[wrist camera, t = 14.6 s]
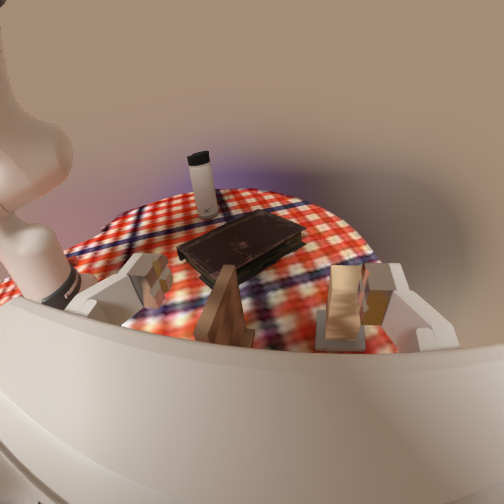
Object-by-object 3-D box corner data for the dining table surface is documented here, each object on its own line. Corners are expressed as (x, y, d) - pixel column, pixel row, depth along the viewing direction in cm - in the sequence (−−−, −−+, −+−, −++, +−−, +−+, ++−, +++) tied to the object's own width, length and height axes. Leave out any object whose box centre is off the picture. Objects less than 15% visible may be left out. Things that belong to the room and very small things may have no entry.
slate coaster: (314, 350, 40) (315, 347, 39) (316, 313, 46) (317, 310, 46) (364, 351, 38) (365, 348, 38) (361, 314, 44) (361, 311, 44)
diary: (179, 262, 65) (174, 244, 62) (258, 223, 77) (256, 206, 74) (222, 300, 52) (217, 280, 49) (309, 246, 64) (309, 228, 61)
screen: (238, 395, 35) (220, 336, 27) (209, 390, 36) (181, 331, 28) (254, 332, 44) (245, 265, 36) (229, 329, 45) (213, 264, 37)
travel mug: (212, 220, 79) (200, 154, 68) (194, 218, 82) (181, 155, 71) (223, 211, 84) (213, 148, 72) (206, 209, 87) (195, 149, 75)
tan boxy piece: (324, 340, 40) (332, 288, 34) (325, 316, 44) (330, 264, 38) (355, 340, 39) (369, 289, 33) (353, 316, 43) (364, 265, 37)
